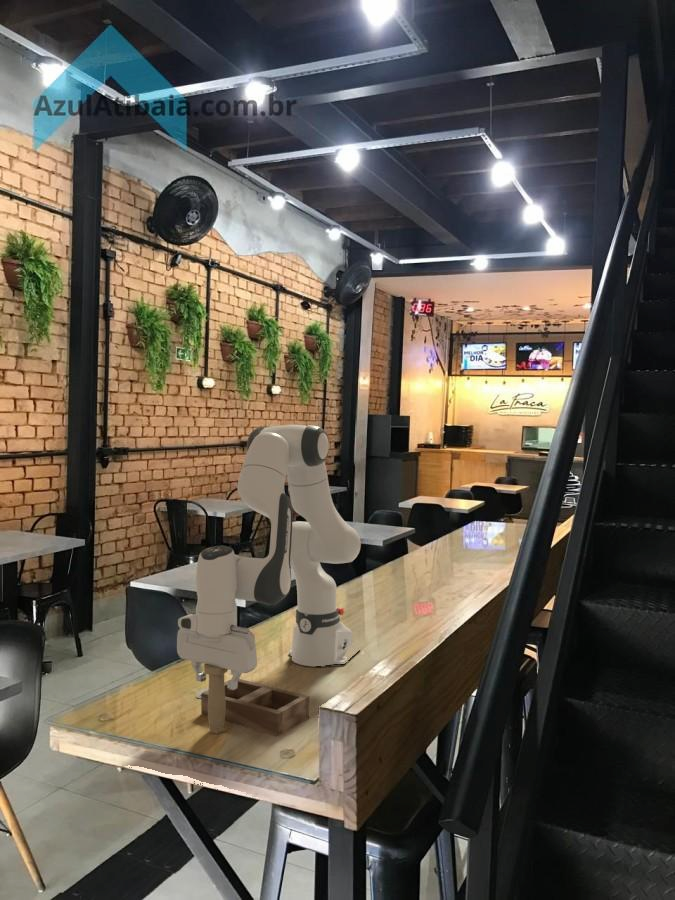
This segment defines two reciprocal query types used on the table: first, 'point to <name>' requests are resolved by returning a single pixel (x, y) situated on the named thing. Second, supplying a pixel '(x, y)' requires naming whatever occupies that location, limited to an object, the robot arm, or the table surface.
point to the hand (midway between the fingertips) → (216, 684)
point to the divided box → (262, 707)
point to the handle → (216, 698)
